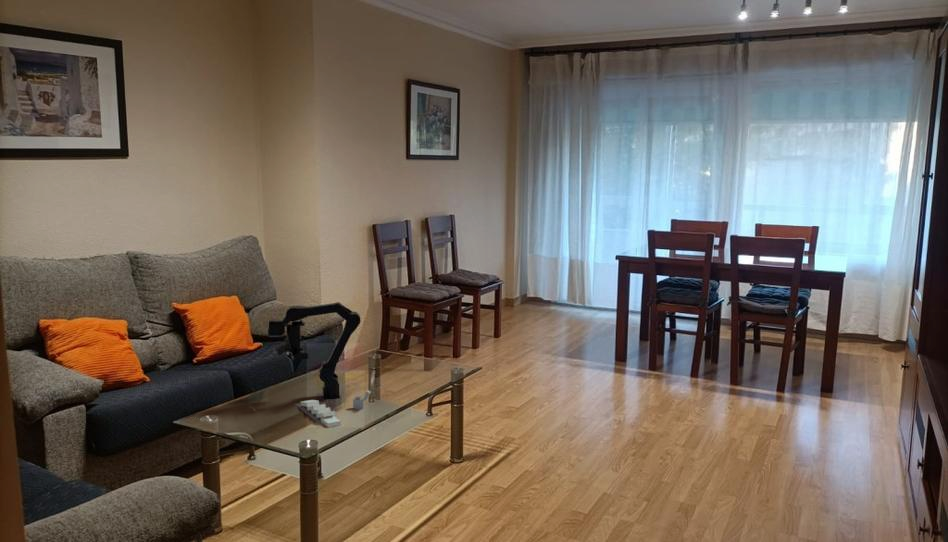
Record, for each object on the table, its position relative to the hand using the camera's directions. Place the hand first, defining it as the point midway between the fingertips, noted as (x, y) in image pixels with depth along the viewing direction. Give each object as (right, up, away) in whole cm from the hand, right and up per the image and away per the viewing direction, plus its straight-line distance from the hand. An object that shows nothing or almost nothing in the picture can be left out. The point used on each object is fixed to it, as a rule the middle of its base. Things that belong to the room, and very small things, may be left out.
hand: (294, 371), depth 301 cm
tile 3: (+17, -14, -22) cm, 31 cm away
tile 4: (+19, -14, -26) cm, 36 cm away
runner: (+13, -14, -16) cm, 25 cm away
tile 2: (+14, -13, -18) cm, 26 cm away
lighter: (+31, -14, -11) cm, 35 cm away
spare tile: (+7, -12, -7) cm, 15 cm away
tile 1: (+11, -13, -13) cm, 21 cm away
